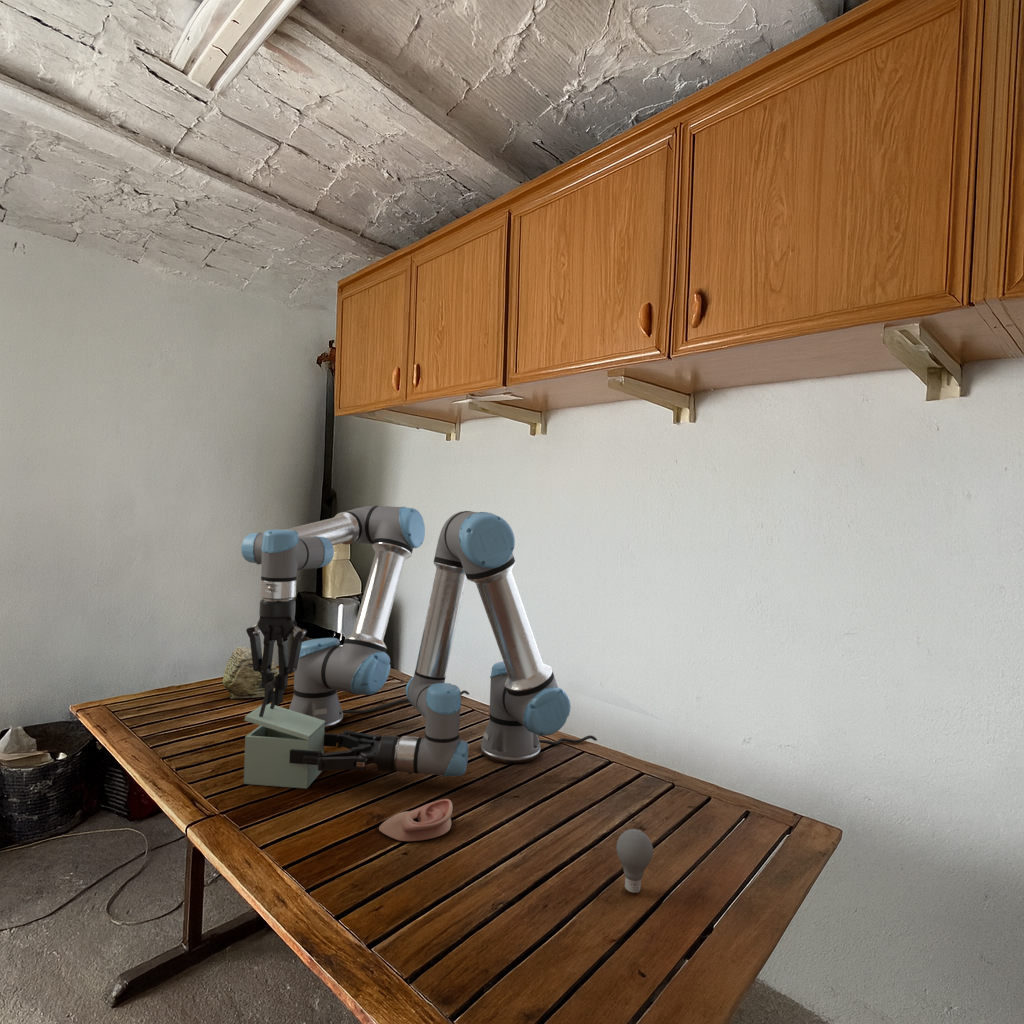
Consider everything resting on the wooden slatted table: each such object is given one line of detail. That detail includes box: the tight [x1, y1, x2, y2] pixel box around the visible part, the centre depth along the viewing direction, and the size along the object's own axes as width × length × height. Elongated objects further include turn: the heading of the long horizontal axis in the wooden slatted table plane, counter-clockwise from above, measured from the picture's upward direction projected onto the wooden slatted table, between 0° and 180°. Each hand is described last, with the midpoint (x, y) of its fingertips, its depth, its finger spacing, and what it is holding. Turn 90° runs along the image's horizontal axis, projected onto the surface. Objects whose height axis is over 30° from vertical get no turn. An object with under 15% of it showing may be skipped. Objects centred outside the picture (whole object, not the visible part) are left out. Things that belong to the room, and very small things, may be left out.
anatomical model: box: [378, 798, 454, 842], centre depth 123 cm, size 13×4×12 cm
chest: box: [243, 725, 326, 789], centre depth 142 cm, size 14×10×10 cm
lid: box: [243, 678, 325, 740], centre depth 142 cm, size 15×10×9 cm, turn 87°
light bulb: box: [615, 828, 654, 894], centre depth 106 cm, size 6×6×10 cm
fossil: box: [222, 646, 287, 699], centre depth 198 cm, size 9×18×15 cm, turn 132°
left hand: (273, 702), depth 142 cm, fingers closed on lid, 2 cm apart
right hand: (299, 746), depth 142 cm, fingers closed on chest, 10 cm apart
